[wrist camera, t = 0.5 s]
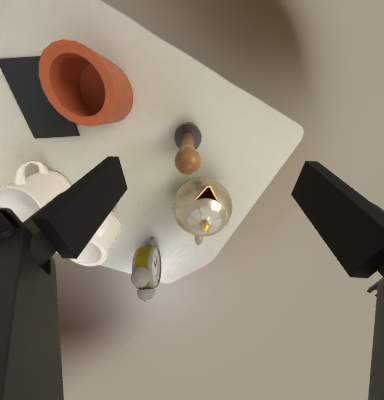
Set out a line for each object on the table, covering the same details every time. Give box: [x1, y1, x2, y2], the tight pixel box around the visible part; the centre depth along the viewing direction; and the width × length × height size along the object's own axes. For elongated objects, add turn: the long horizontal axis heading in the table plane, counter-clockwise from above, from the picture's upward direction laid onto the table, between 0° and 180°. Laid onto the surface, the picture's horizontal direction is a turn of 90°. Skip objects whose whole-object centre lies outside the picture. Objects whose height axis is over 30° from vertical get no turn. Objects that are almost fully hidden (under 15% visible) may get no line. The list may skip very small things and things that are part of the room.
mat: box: [0, 56, 80, 138], centre depth 34 cm, size 14×10×1 cm
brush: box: [175, 122, 201, 175], centre depth 28 cm, size 6×6×24 cm
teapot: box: [173, 177, 232, 245], centre depth 39 cm, size 18×14×16 cm
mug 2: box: [71, 211, 122, 266], centre depth 45 cm, size 14×10×11 cm
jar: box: [39, 39, 133, 126], centre depth 30 cm, size 11×11×10 cm
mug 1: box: [0, 161, 71, 222], centre depth 38 cm, size 9×12×11 cm
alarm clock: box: [131, 237, 161, 301], centre depth 48 cm, size 12×7×15 cm, turn 6°
